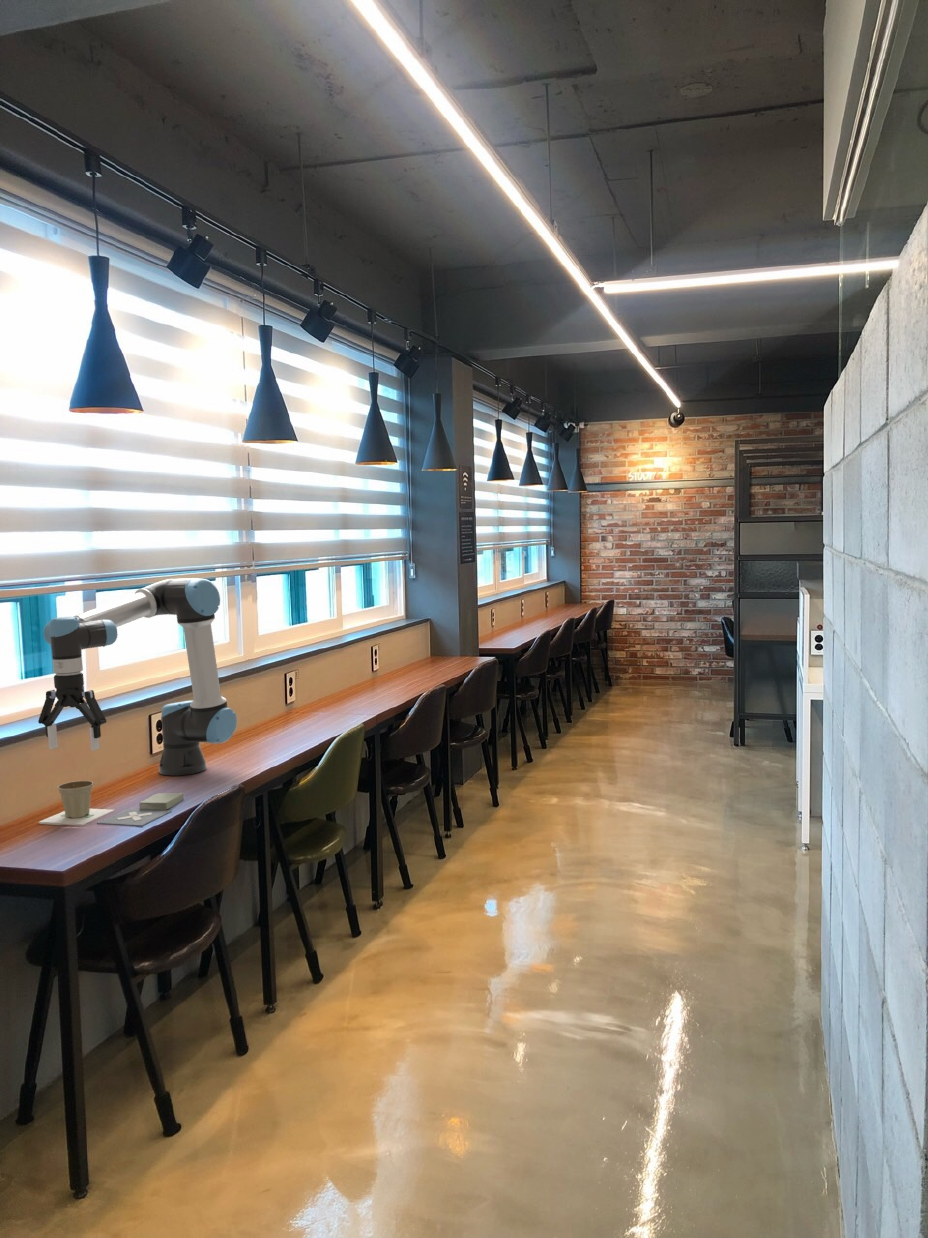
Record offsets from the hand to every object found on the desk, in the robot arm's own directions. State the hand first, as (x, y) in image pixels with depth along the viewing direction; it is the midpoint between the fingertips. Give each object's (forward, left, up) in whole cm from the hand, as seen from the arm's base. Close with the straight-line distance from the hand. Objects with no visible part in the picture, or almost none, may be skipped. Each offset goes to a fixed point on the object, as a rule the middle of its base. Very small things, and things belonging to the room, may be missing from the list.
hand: (74, 749), depth 263 cm
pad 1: (0, 0, -19) cm, 19 cm away
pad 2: (-2, +17, -19) cm, 26 cm away
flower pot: (0, 0, -19) cm, 19 cm away
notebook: (-15, +17, -19) cm, 29 cm away
